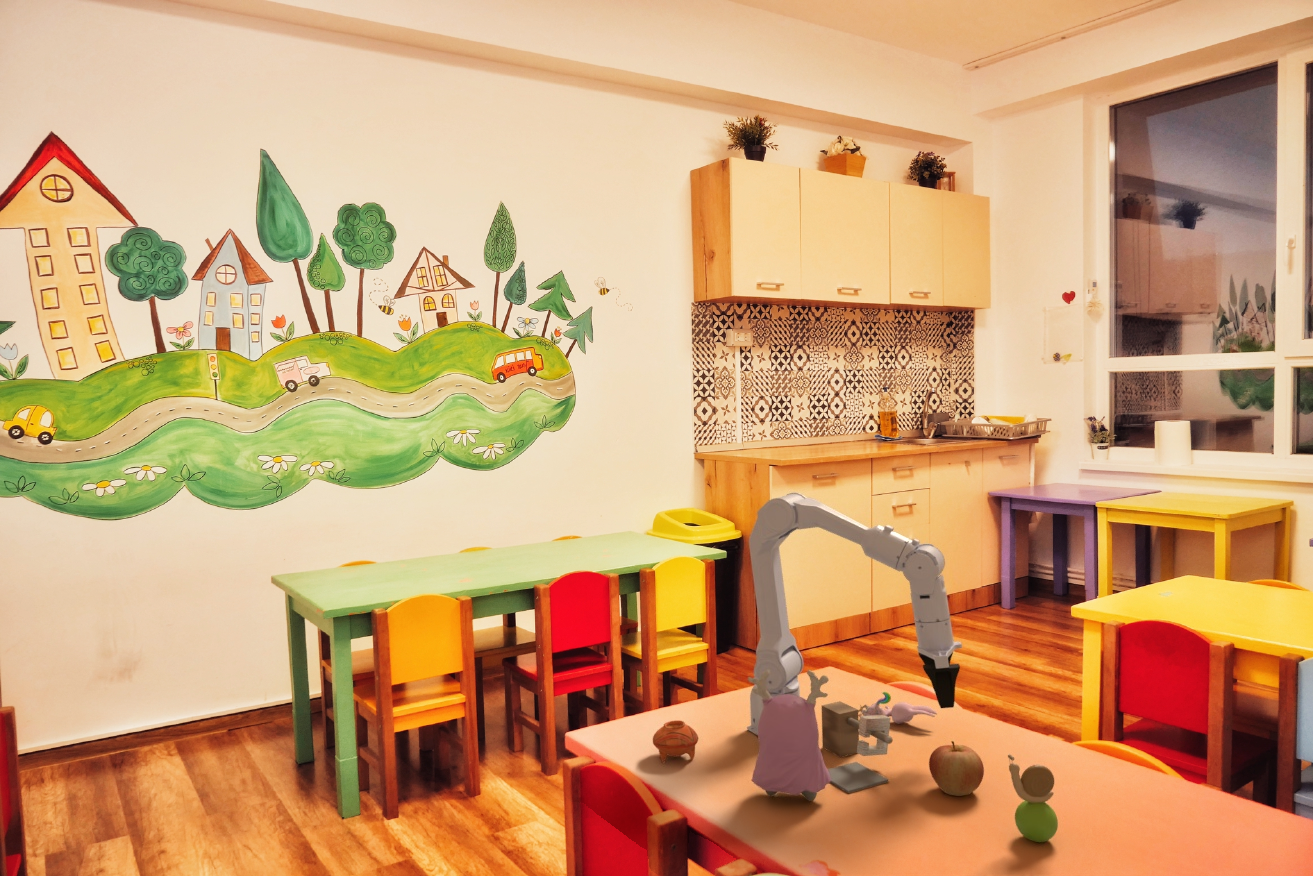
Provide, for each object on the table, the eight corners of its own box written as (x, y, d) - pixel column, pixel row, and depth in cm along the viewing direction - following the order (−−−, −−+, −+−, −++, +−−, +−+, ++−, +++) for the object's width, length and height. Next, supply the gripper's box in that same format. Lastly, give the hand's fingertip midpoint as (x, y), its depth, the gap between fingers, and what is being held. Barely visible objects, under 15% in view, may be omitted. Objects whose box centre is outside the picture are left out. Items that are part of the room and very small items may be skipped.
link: (856, 752, 146) (860, 716, 146) (880, 751, 148) (883, 714, 148) (863, 756, 144) (866, 719, 144) (886, 754, 147) (890, 717, 147)
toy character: (835, 787, 140) (832, 662, 139) (825, 817, 130) (822, 682, 130) (759, 778, 144) (756, 657, 143) (745, 807, 134) (741, 676, 134)
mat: (817, 774, 145) (817, 772, 145) (856, 764, 149) (856, 761, 149) (848, 793, 138) (848, 790, 138) (888, 781, 141) (888, 779, 141)
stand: (822, 747, 156) (821, 705, 156) (840, 742, 158) (839, 701, 157) (882, 780, 142) (881, 734, 142) (901, 775, 144) (900, 729, 143)
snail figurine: (1001, 832, 124) (999, 747, 124) (1045, 828, 125) (1043, 744, 124) (1020, 851, 119) (1018, 763, 118) (1066, 848, 119) (1064, 760, 119)
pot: (678, 770, 148) (669, 729, 148) (649, 768, 153) (640, 729, 154) (712, 755, 153) (703, 715, 154) (682, 753, 159) (674, 715, 160)
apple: (927, 799, 135) (926, 748, 135) (931, 778, 142) (930, 729, 142) (983, 807, 132) (982, 754, 132) (984, 784, 139) (984, 734, 139)
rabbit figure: (854, 728, 168) (932, 729, 160) (848, 697, 168) (926, 696, 160) (866, 718, 173) (942, 718, 165) (860, 687, 173) (936, 686, 165)
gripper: (963, 625, 140) (975, 711, 140) (951, 607, 154) (963, 685, 154) (916, 630, 141) (929, 715, 141) (910, 611, 155) (921, 688, 155)
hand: (944, 700), depth 147 cm, fingers open, 7 cm apart
